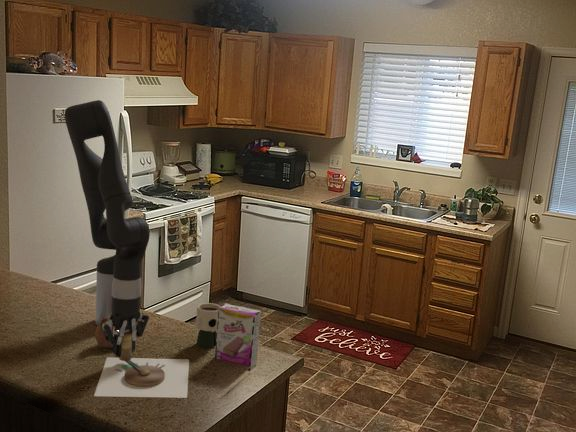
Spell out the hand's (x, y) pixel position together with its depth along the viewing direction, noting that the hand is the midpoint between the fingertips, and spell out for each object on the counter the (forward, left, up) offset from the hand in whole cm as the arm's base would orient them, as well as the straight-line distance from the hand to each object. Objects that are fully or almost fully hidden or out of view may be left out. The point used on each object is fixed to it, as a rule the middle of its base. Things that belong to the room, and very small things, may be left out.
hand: (123, 354), depth 171 cm
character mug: (-14, +22, -4) cm, 27 cm away
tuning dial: (+6, +4, -2) cm, 8 cm away
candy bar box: (-4, +30, -4) cm, 31 cm away
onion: (-13, -5, -4) cm, 15 cm away
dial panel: (+9, +6, -4) cm, 11 cm away
